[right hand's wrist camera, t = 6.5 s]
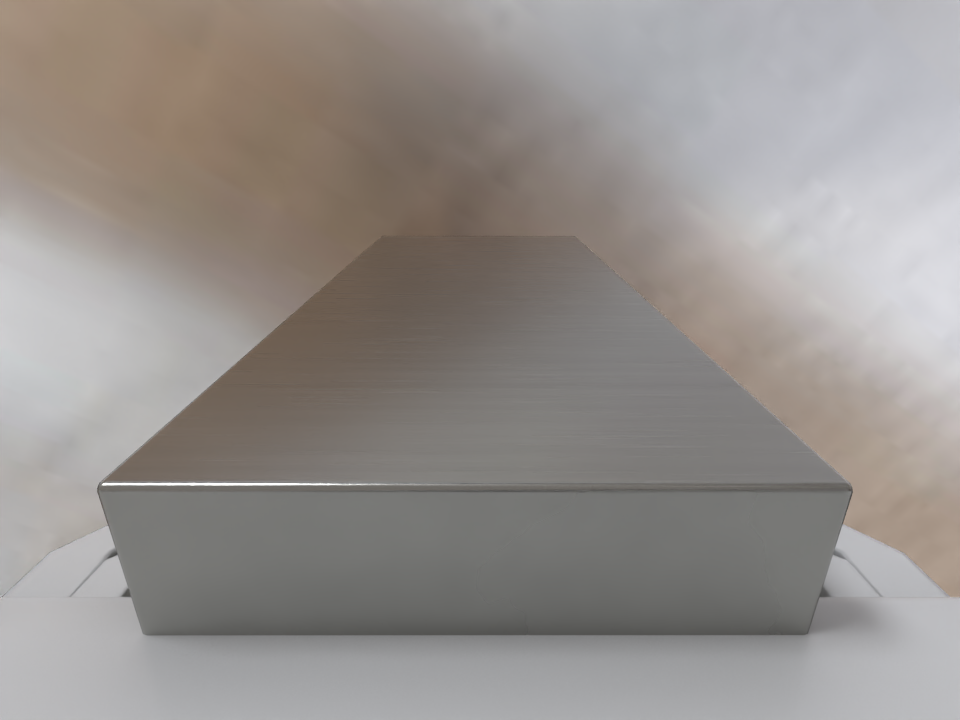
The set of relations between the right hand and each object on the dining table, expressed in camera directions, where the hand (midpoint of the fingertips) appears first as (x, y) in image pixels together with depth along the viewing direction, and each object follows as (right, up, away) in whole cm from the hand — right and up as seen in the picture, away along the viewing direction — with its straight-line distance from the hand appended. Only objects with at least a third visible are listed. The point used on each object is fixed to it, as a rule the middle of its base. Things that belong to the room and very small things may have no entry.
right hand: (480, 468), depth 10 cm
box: (0, -6, +10) cm, 12 cm away
